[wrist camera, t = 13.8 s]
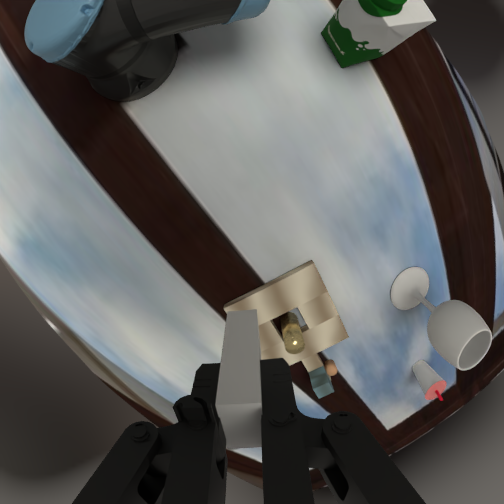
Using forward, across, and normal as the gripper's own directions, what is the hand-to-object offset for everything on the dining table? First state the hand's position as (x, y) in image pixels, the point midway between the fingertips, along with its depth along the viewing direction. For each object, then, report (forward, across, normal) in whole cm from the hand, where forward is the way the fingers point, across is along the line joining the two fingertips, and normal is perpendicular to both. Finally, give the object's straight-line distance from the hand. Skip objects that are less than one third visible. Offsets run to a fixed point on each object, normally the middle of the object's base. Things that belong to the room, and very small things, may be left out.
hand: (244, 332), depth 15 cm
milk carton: (+31, +19, +28) cm, 45 cm away
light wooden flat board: (+30, +7, -21) cm, 38 cm away
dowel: (+30, +13, -29) cm, 44 cm away
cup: (+31, +35, -35) cm, 58 cm away
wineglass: (+31, +28, -15) cm, 44 cm away
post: (+30, +5, -18) cm, 36 cm away
